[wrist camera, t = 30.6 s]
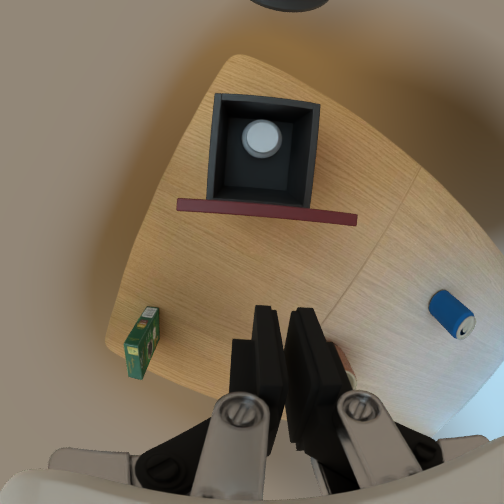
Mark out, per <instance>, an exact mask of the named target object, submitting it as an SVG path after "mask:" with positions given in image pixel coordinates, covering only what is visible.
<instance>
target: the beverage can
mask: <svg viewBox="0 0 504 504" xmlns="http://www.w3.org/2000/svg"><path fill="white" fill-rule="evenodd" d="M429 311H430V313H431V314H432V315H433V316H434V317H435V318H436V319H437V320H438V321H439V323H440V324H441V325H442V326H443V327H444V328H445V329H446V330H447V331H448V332H449V333H450V334H451V335H452V336H453V337H454V338H456V339H458V340H463V339H465V338H467V337H468V336H469V335H470V334H471V332H472V331H473V329H474V327H475V324H476V318H475V317H474V314H473V313H472V312H471V311H470V310H469V309H468V308H467V307H466V306H464V305H463V304H462V303H461V302H460V301H459V300H457V299H456V298H455V297H454V296H453V295H451V294H450V293H449V292H448V291H446V290H442V291H439V292H438V293H437V294H435V295H434V296H433V298H432V300H431V302H430V305H429Z"/></svg>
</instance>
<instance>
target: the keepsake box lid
mask: <svg viewBox="0 0 504 504" xmlns="http://www.w3.org/2000/svg"><path fill="white" fill-rule="evenodd" d="M176 210H177V211H188V212H204V213H219V214H232V215H245V216H258V217H269V218H281V219H291V220H302V221H312V222H321V223H330V224H340V225H348V226H356V225H357V214H351V213H343V212H335V211H327V210H318V209H309V208H300V207H290V206H280V205H269V204H258V203H246V202H233V201H219V200H203V199H186V198H178V199H177V209H176Z"/></svg>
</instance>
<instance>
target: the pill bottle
mask: <svg viewBox="0 0 504 504" xmlns="http://www.w3.org/2000/svg"><path fill="white" fill-rule="evenodd" d="M242 144H243V147H244V149H245V150H246V151H247V152H248V153H249V154H250V155H251V156H253V157H256V158H268V157H270V156H272V155H274V154H275V153H276V152H277V151H278V150H279V148H280V146H281V144H282V134H281V131H280V129H279V128H278V127H277V125H275V124H274V123H273V122H271V121H268V120H264V119H260V120H255V121H253V122H251V123H249V124H248V125H247V126H246V127H245V129H244V130H243V133H242Z"/></svg>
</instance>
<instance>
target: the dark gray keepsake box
mask: <svg viewBox="0 0 504 504" xmlns="http://www.w3.org/2000/svg"><path fill="white" fill-rule="evenodd" d="M319 117H320V104H316V103H311V102H305V101H298V100H291V99H283V98H275V97H266V96H255V95H242V94H224V93H222V94H221V93H215V96H214V106H213V116H212V127H211V138H210V150H209V163H208V178H207V194H206V200H219V201H233V202H246V203H258V204H269V205H280V206H290V207H300V208H309V209H310V202H311V194H312V186H313V177H314V169H315V159H316V150H317V140H318V129H319ZM260 119H264V120H268V121H271V122H273V123H274V124H275V125H277V127H278V128H279V129H280V131H281V134H282V144H281V146H280V148H279V150H278V151H277V152H276V153H275V154H274V155H272V156H270V157H268V158H256V157H253V156H251V155H250V154H249V153H248V152H247V151H246V150H245V149H244V147H243V144H242V133H243V130H244V129H245V127H246V126H247V125H248V124H249V123H251V122H253V121H255V120H260Z"/></svg>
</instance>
